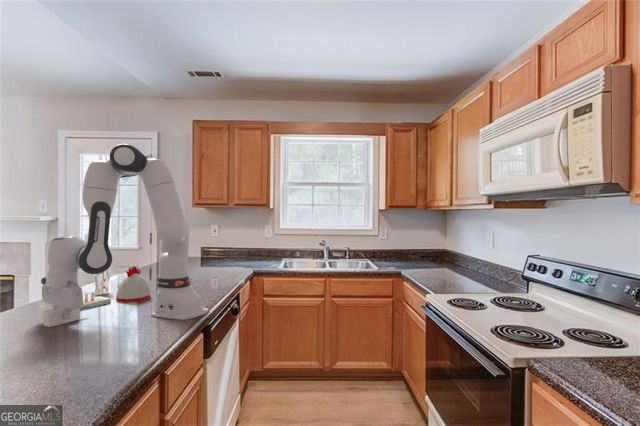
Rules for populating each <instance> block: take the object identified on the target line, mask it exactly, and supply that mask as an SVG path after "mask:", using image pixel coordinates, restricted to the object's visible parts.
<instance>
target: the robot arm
mask: <svg viewBox="0 0 640 426" xmlns="http://www.w3.org/2000/svg"><path fill="white" fill-rule="evenodd" d="M135 176H139V177H140V179H141V180H142V183H143V186H144V190H145V192H146V195H147V199H148V201H149V204H150V207H151V212H152V216H153V221H154V226H155V229H156V232H157V237H158V238H159V240H160V250H159V257H158V277H157V279H156V285H157V292H156V293H155V298H154V306H153V311H152V312H151V317H154V318H155V317H156V318H164V319H172V320H180V321H181V320H182V321H183V320H191V319H195V318H197V317H201V316H203V315H205V314H207V313H209V308H208V307H205V306H203V305H204V304H203V298H202V296H201V295H200V294H199V293H198V292H197V291H196V290H195V289H194V288H193V287H192V286H191V283H192V282H193V279H192V278H189V275H188V267H189V266H188V264H189V247H190V246H189V242H190V225H189V223H188V221H187V220H185V217H184V213H183V209H182V205H181V201H180V197H179V194H178V191H177V188H176V185H175V182H174V178H173V176H172V173H171V172H170V168H169V167H168V165H167V164H166V162H165V161H164V160H162V159H159V158H148V157H147V156H145V154H143V153H142V152H141V151H140V150H139V148H137V147H135V146H134V145H132V144H130V143H129V144H128V143H119V144H117V145H115V146H114V147H113V148H112V149H111V150H110V152H109V159H108V160H95V161H92V162H90V163H89V164H88V167H87V169H86V172H85V176H84V179H83V185H82V204H83V208H84V209H85V211H86V213H87V216H88V222H89V223H88V232H87V233H88V234H87V241H86V240H84V239H82V238H79V237H77V236H76V235H64V236H63V235H62V236H58V237H55V238H52V240H51V241H50V242H49V246H48V251H47V262H48V270H47V275H46V276H44V277H41V278H40V284H41V285H42V286H41V298H42V301H43V303H45V304H49V305H52V306H51V307H52V308H51V309H56V308H60V307H63V308H64V310H65V312H64V314H63V319H65V320H66V319H70V314H71V311H72V310H74V309H79V308H81V307H82V306H83V300H84V296H83V294H84V293H83V289H82V288H81V286H80V285H79V284H78V281H79V280H78V279H79V278H78V277H79V275H78V273H79V272H78V271H79V269H81V270H82V271H83V272H84V273H86V274H89V275H94V274H99V273H102V272H104V271H106V270H107V269H108V268H109V267H110V268H111V265H112V263H113V254H112V251H111V250H110V247H109V235H110V223H111V218H112V213H113V209H114V208H115V207H114V206H115V203H116V200H117V193H118V183H119V181H120V179H122V178H124V179H125V178H130V177H131V178H132V177H135Z"/></svg>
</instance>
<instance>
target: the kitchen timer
mask: <svg viewBox="0 0 640 426" xmlns="http://www.w3.org/2000/svg"><path fill="white" fill-rule="evenodd" d="M141 271H142V270H141V269H139V267H137V266H132V267H128V270H125V272H126V273H125V274H126V276H125V277H124V278H123V279H122V280H121V283H119V284H118V286H117V292H116V296H115V300H116V301H115V302H118V303H137V302H142V301H147V300H148V299H150V298H151V296H150V295H151V291H150V287H149V283H147V280H146V279H145V277H144V276H142V275H141V273H142V272H141Z"/></svg>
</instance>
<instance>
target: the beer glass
mask: <svg viewBox="0 0 640 426" xmlns="http://www.w3.org/2000/svg"><path fill="white" fill-rule="evenodd" d="M111 270H112V269H111V266H110V267H109V268H108V269H107V270H106V271H104V272H102V273H99V274H93V279H94V285H95V288H94V296H102V295H104V296H105V295H108V294H109V293H110V290H109V282H110V278H111V273H112V272H111Z"/></svg>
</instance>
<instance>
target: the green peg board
mask: <svg viewBox="0 0 640 426" xmlns="http://www.w3.org/2000/svg"><path fill="white" fill-rule="evenodd" d="M94 293H95V291H92V292H90V297H89V293H88V292H86V293H84V298H83V306H88V305H89V306H90V307H89V308H86V309H90V308H91V307H92V308H95V307H99V306H100V307H101V306H103V305H104V304H105V305H107V304H108V305H109V304H111V302H112V298H110V297H105V296H102V295H97V296H95V294H94ZM83 306H82V307H83ZM86 309H85V310H86ZM83 310H84V309H82V310H81V311H83Z"/></svg>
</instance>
